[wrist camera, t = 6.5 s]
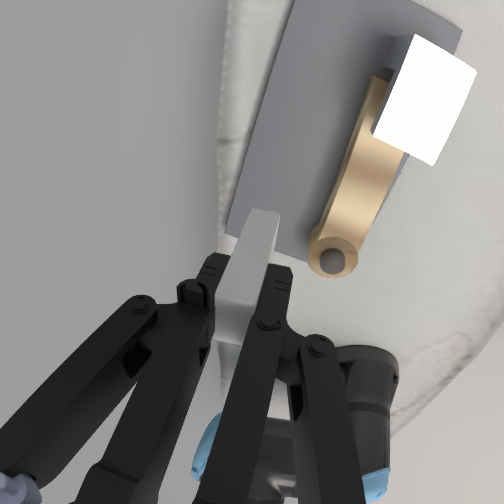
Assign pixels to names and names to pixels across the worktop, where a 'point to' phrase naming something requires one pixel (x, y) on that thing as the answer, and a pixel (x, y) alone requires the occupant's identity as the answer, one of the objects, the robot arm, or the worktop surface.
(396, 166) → the brass link
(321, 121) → the board
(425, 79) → the block
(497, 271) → the worktop surface
